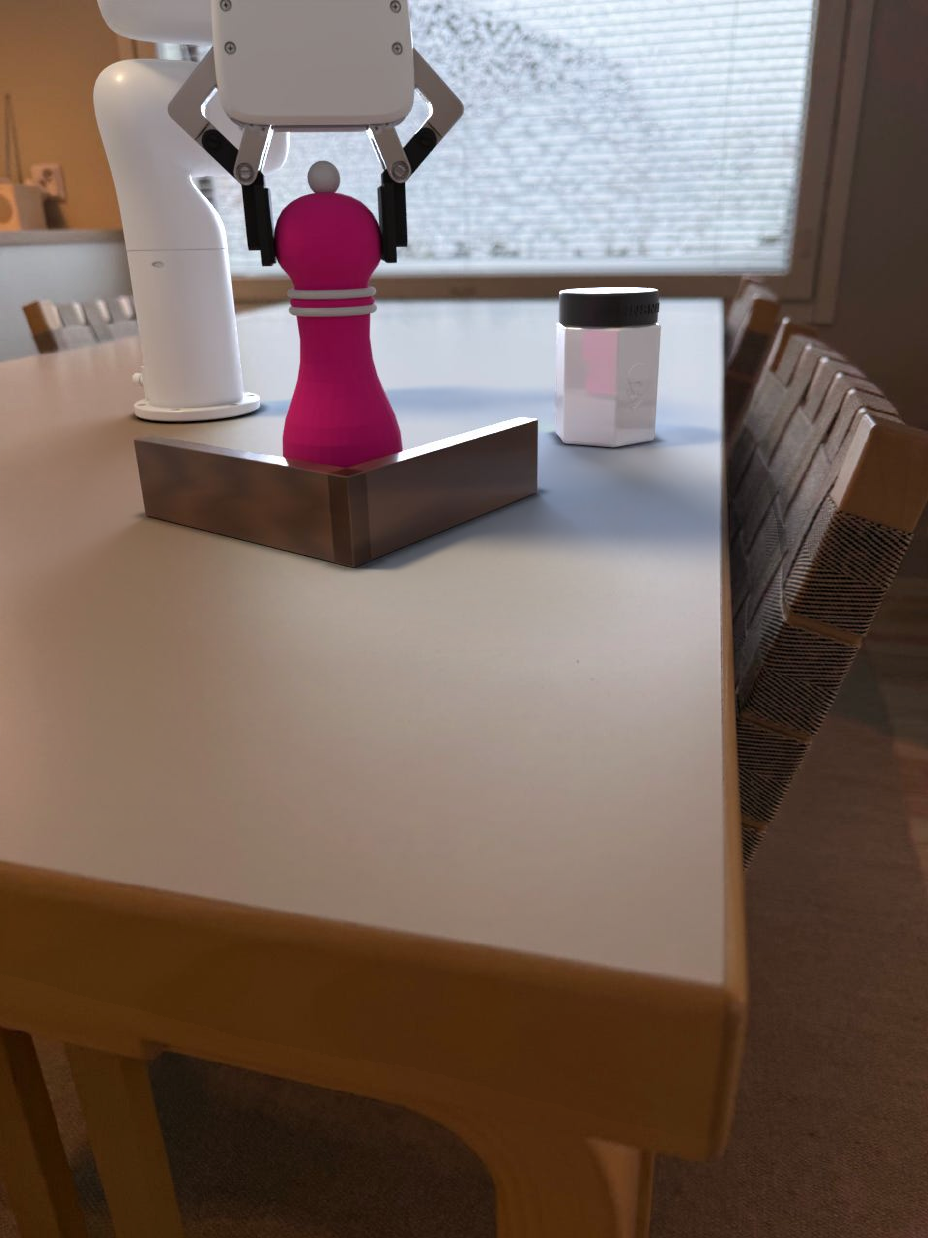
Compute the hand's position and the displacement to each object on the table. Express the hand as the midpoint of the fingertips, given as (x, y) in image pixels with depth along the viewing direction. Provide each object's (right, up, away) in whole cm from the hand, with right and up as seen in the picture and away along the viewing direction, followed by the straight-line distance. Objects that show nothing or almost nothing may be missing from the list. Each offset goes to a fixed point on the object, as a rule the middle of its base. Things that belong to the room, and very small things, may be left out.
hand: (329, 260), depth 52 cm
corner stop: (0, -12, +10) cm, 16 cm away
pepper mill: (0, -14, +6) cm, 15 cm away
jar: (+20, -5, +28) cm, 35 cm away
